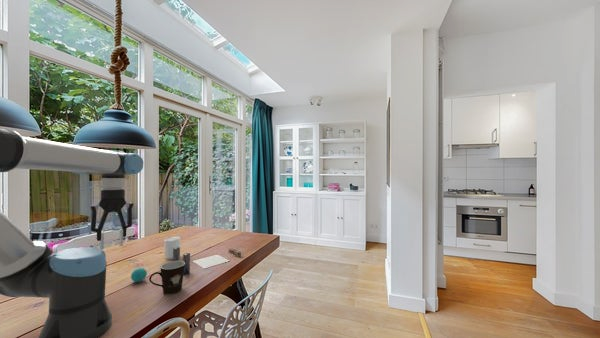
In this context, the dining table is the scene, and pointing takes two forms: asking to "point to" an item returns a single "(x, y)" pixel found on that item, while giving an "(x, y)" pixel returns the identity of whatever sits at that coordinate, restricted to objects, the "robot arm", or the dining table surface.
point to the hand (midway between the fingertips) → (111, 246)
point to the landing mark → (210, 261)
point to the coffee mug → (171, 276)
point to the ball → (138, 275)
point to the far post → (176, 254)
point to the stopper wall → (234, 252)
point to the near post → (186, 263)
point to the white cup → (171, 246)
